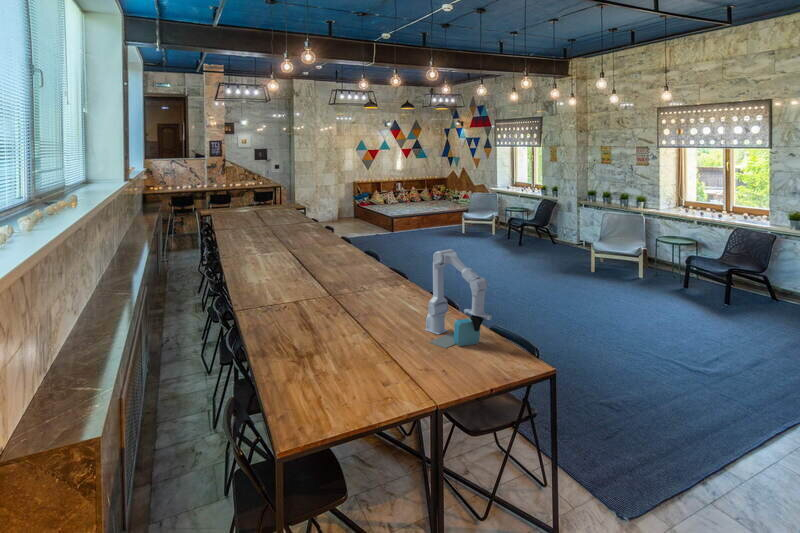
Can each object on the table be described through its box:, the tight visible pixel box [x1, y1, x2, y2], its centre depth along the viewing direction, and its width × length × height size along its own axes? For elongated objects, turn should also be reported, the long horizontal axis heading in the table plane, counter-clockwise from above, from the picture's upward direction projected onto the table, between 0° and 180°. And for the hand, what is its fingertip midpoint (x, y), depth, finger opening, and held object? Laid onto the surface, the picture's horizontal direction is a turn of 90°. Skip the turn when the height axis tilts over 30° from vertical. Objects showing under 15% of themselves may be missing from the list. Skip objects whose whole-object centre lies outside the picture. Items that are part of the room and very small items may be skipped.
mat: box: [428, 331, 457, 349], centre depth 251 cm, size 11×24×1 cm, turn 136°
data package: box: [453, 318, 482, 347], centre depth 243 cm, size 12×4×12 cm, turn 111°
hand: (476, 330), depth 239 cm, fingers closed
